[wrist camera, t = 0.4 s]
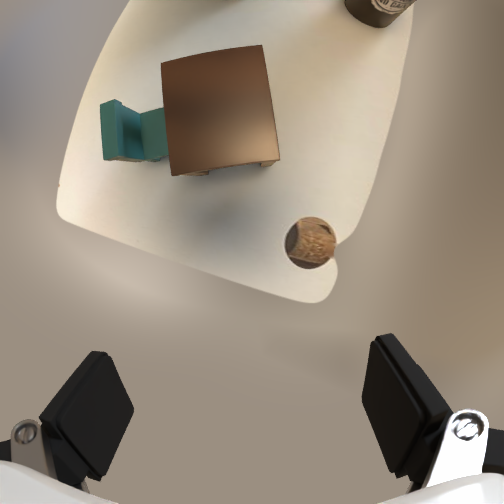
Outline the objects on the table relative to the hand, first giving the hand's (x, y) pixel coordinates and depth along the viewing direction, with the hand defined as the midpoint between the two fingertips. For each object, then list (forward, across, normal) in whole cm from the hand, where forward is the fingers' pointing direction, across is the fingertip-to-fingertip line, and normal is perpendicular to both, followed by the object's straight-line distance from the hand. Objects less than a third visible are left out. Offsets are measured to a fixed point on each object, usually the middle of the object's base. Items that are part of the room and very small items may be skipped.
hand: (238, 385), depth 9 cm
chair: (+30, +9, -14) cm, 34 cm away
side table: (+30, +2, -14) cm, 33 cm away
